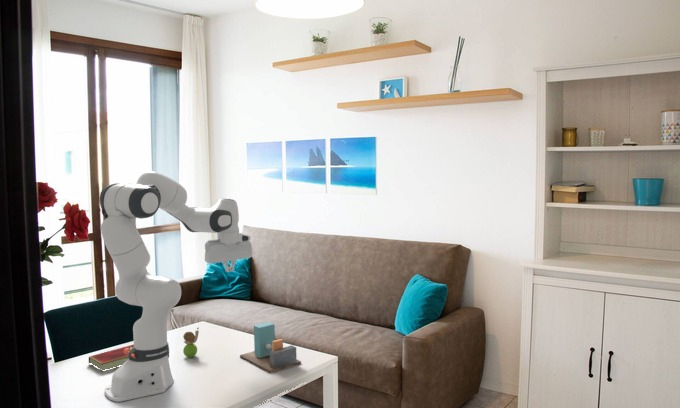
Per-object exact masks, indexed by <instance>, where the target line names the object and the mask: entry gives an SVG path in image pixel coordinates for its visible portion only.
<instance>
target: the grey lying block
mask: <svg viewBox="0 0 680 408" xmlns="http://www.w3.org/2000/svg"><path fill="white" fill-rule="evenodd" d="M297 360H298V358H297V346H294V345H288V346H283V348H281V349H277V350H274V351H270V367H271V368H273V369H274V370H275V369H278V368H281V367H284V366H287V365H291V364H294V363H297Z"/></svg>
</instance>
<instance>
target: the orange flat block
mask: <svg viewBox="0 0 680 408" xmlns="http://www.w3.org/2000/svg"><path fill="white" fill-rule="evenodd" d="M281 348H284V340H283V339H282V338H278V339H275V341H272V351H274V350H277V349H281Z"/></svg>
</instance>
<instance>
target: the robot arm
mask: <svg viewBox="0 0 680 408" xmlns="http://www.w3.org/2000/svg"><path fill="white" fill-rule="evenodd" d="M187 201H188V193H187V190H186V188H185V187H184V186H182V185H181V184H180V183H179V182H177V181H176V180H174V179H172V178H170V177H169V176H166V175H164V174H161V173H159V172H157V171H152V170H151V171H146V172H143V173H142V174H140V176H139V178H138V179H137V182H136V184H133V183H112V184H108V185H107V186H105V187H103V189H101V191H100V194H99V206H100V208H101V214H102V216H104V218H105V219H104V220H103V221H102V223H101V225H100V232H101V236H102V239H103V242H104V244H105V247H106V250H107V252H108V254H109V255H110V257H111V259H112V262H113V263H114V265H115V268H116V270H117V272H118V280H117V282H116V284H115V287H114V291H115V295H116V297H117V299H118V300H119V301H121V302H123V303H125V304H128V305H130V306H138V307H142V314H141V316H140V318H139V319H137V320H136V321H135V322H134V323H133V326H132V335H133V336H132V337H133V338H132V339H133V344H134V346H133V348H132V349H131V350H130V349H129V348H125V350H124V353H125V354H126V355H128V357H129V359H128V360H127V361H126V362H125V363H124V364H123V365H122V366H120V367H119V368H116V370H114V372H113V374H112V377H111V384H110V385H107V386H106V387H105V389H104V395H105V396H106V398H107V399H108V400H110V401H113V402H119V403H120V402H124V401H130V400H133V399H139V398H144V397H147V396H152V395H156V394H163V393H165V392H166V391H167V389H168V388H169V387H170V386H172V384H173V383H174V382H175V381H174V380H175V379H174V378H173V375H172V371H171V368H170V360H169V358H170V348H169V342H168V331H167V330H168V319H169V315H170V313H171V311H172V309H173V308H174V307H176V305H177V304H178V303H179V301H180V300H181V298H182V297H181V296H182V287H181V284H180V283H179V281H177V280H175V279H173V278H170V277H168V276H162V275H152V274H150V272H148V270H147V266H148V265H149V264H150V261H151V255H150V253H149V250H148V248H147V247H146V244H145V242H144V240H143V238H142V236H141V233H140V232H139V231H138V229H137V222H136V220H137V219H142V220H143V219H149V218H151V217H153V216H154V215H155V214H156V213H157V212H158V210H162V211H164V212H166V213H167V214H169V215H170V216H172V217H174V218H175V219H177V220H178V221H180V222H181V223H182V224H183V226H184V227H185V228H186V230H187V231H188V232H191V233H210V234H211V233H212V234H216V236H217V237H216V238H217V239H216V238H215V239H209V240H207V241H206V242H205V243H204V250H205V253H204V262H206V264H217V263H222V265H223V267H224V268H225V272H226V273H230V272H234V270H235V269H234V268H235V265H236V264H237V261H238V260H243V259H250V258H252V256H253V245H252V242H251V236H250V235H248V234H245V233H244V234H243V233H242V232H241V233H240V228H239V221H240V220H239V219H240V216H239V215H240V214H239V206H238V203H237V201H236V200H234V199H231V198H219V199H217V202H216V204H214V205H213V206H212V207H210V208H209V207H208V208H207V207H193V206H191V207H190V206H188V205H186V203H187ZM229 262H230V266H229V265H228V264H229Z"/></svg>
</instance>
